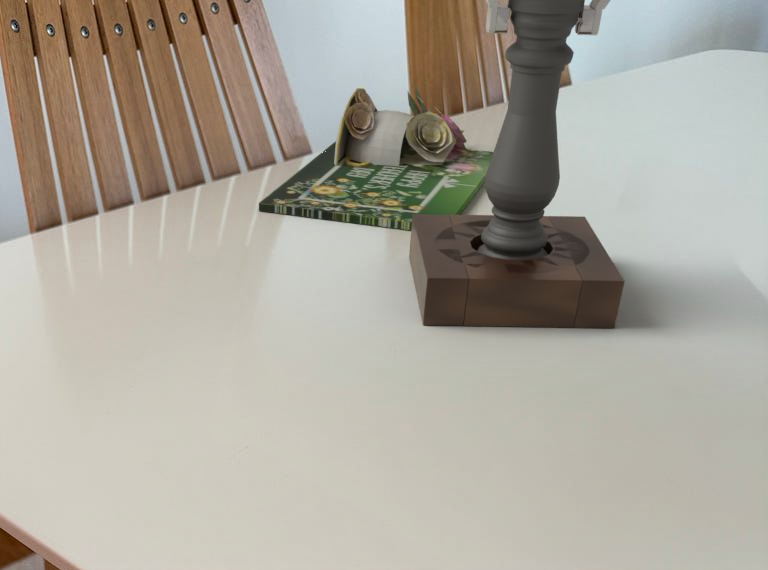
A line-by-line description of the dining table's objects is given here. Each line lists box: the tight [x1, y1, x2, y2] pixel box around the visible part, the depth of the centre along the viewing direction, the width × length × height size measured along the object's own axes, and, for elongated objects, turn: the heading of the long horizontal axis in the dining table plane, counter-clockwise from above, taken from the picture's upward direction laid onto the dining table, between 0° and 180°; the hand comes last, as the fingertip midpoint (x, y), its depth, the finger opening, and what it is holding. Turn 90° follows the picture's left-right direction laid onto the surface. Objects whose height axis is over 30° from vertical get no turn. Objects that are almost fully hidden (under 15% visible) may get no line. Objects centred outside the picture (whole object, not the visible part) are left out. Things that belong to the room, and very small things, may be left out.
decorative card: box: [258, 84, 494, 231], centre depth 116 cm, size 33×8×20 cm
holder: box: [408, 214, 625, 329], centre depth 92 cm, size 16×16×4 cm
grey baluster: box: [477, 0, 586, 260], centre depth 85 cm, size 6×6×25 cm
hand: (540, 33), depth 80 cm, fingers closed on grey baluster, 5 cm apart
